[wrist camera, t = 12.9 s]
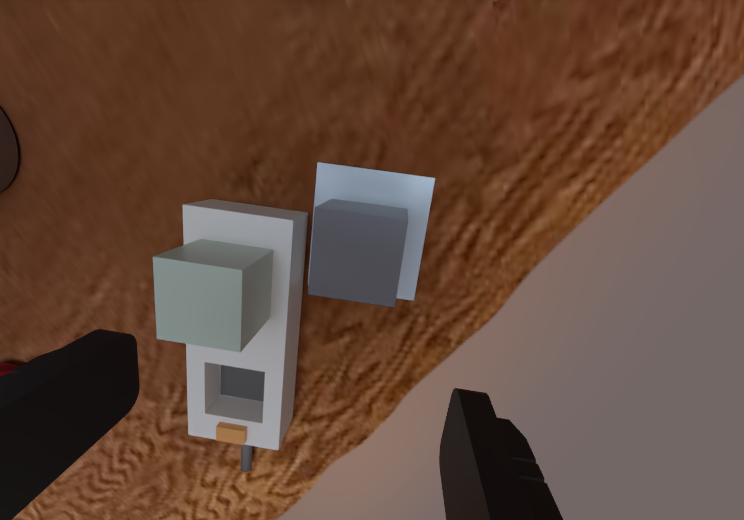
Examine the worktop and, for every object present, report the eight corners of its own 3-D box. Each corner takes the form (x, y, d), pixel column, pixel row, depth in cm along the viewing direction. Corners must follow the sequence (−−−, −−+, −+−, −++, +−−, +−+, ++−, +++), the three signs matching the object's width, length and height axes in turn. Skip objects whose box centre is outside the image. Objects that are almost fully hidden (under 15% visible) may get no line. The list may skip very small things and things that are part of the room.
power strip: (289, 466, 35) (272, 509, 31) (212, 452, 35) (185, 493, 31) (308, 212, 28) (290, 221, 23) (212, 199, 28) (177, 205, 24)
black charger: (331, 261, 28) (307, 294, 21) (338, 195, 27) (314, 207, 20) (396, 271, 28) (394, 307, 21) (406, 204, 27) (408, 220, 20)
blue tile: (308, 283, 30) (307, 284, 29) (318, 162, 27) (317, 162, 26) (413, 298, 29) (413, 300, 29) (434, 177, 26) (435, 178, 26)
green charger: (217, 295, 29) (156, 338, 22) (217, 232, 27) (152, 256, 20) (280, 305, 29) (240, 352, 21) (284, 242, 27) (242, 270, 20)
